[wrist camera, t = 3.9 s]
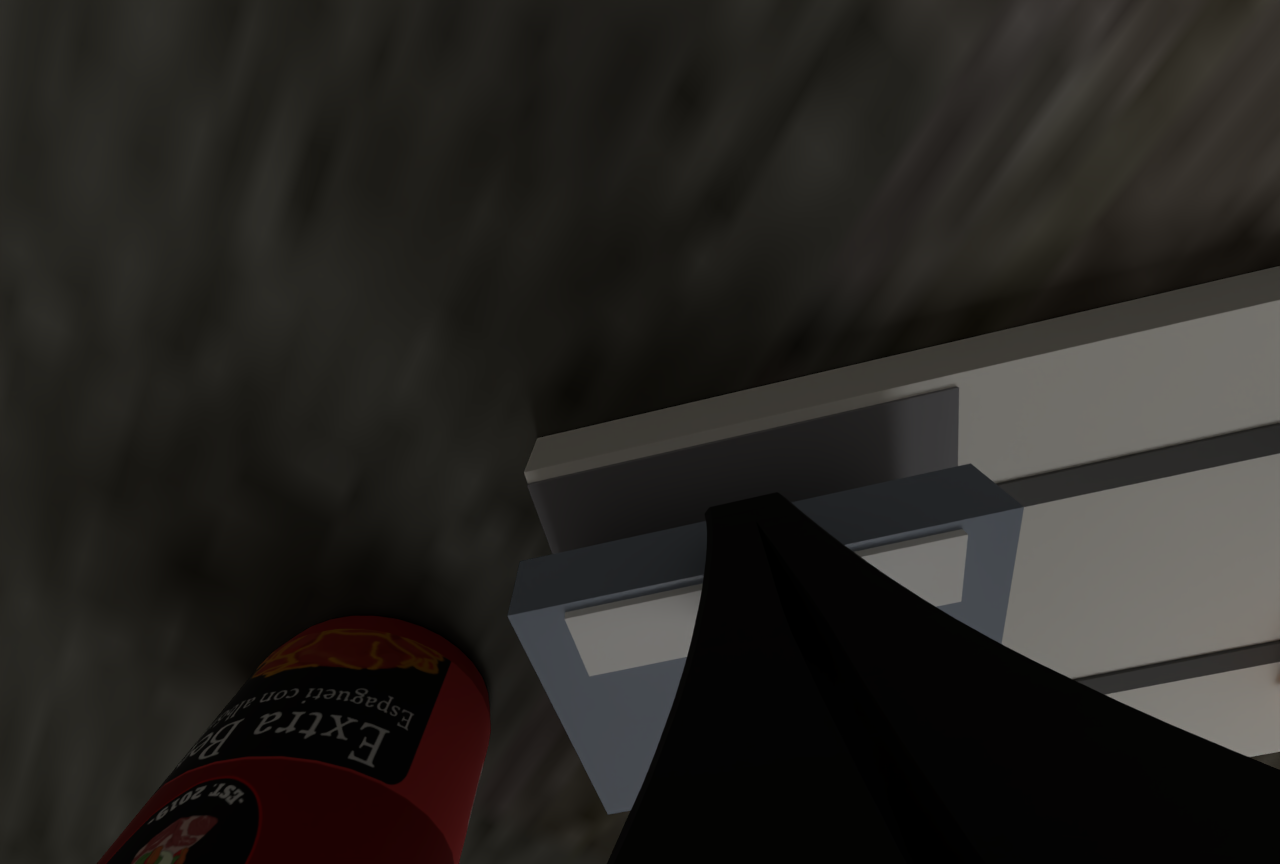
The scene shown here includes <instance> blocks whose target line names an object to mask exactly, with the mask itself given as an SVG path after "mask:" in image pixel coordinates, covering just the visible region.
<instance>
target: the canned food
mask: <svg viewBox="0 0 1280 864" xmlns="http://www.w3.org/2000/svg"><path fill="white" fill-rule="evenodd" d="M490 732H491V723H490V706H489V697H488V691H487V688H486V686H485V683H484V680H483V678H482V676H481V675H480V673H479V671H478V670H477V668H476V667H475V665H474V664H473V662H472V661H471V660H470V659H469V658H468V657H467V656H466V655H465V654H464V653H463V652H462V651H461V650H460V649H459V648H457V647H456V646H455V645H453V644H452V643H450V642H449V641H448V640H446V639H445V638H443V637H442V636H440V635H438V634H436V633H434V632H432V631H430V630H428V629H426V628H424V627H422V626H419V625H415V624H412V623H409V622H406V621H403V620H399V619H394V618H387V617H381V616H348V617H342V618H336V619H330V620H328V621H325V622H322V623H319V624H316V625H314V626H311V627H309V628H308V629H306V630H305V631H303V632H301V633H300V634H298V635H296V636H295V637H293V638H292V639H291V640H289V641H288V642H286V643H285V644H283V645H282V646H281V647H279V648H278V649H276V650H275V651H273V652H272V653H271V654H270V655H269V656H268V657H267V658H266V659H265V660H264V661H263V663H262V664H261V665H260V666H259V667H258V668H257V669H256V670H255V672H254V673H253V674H252V675H251V677H250V678H249V679H248V680H247V681H246V683H245V684H244V685H243V686H242V687H241V689H240V690H239V691H238V692H237V694H236V695H235V696H234V697H233V698H232V700H231V701H230V702H229V703H228V705H227V706H226V707H225V708H224V709H223V711H222V712H221V713H220V714H219V715H218V717H217V718H216V719H215V720H214V722H213V723H212V724H211V725H210V726H209V728H208V729H207V730H206V731H205V733H204V734H203V735H202V736H201V737H200V739H199V740H198V741H197V742H196V743H195V745H194V746H193V747H192V748H191V750H190V751H189V752H188V753H187V754H186V756H185V757H184V758H183V759H182V761H181V762H180V763H179V764H178V765H177V767H176V768H175V769H174V770H173V771H172V773H171V774H170V775H169V776H168V778H167V779H166V780H165V781H164V782H163V784H162V785H161V786H160V787H159V789H158V790H157V791H156V792H155V793H154V795H153V796H152V797H151V798H150V799H149V801H148V802H147V803H146V804H145V806H144V807H143V808H142V809H141V810H140V812H139V813H138V814H137V815H136V817H135V818H134V819H133V820H132V821H131V823H130V824H129V825H128V826H127V827H126V829H125V830H124V831H123V832H122V834H121V835H120V836H119V837H118V838H117V840H116V841H115V842H114V843H113V845H112V846H111V847H110V848H109V849H108V851H107V852H106V853H105V854H104V855H103V857H102V858H101V859H100V860H99V862H98V863H97V864H459V860H460V856H461V852H462V848H463V844H464V840H465V836H466V832H467V828H468V824H469V820H470V816H471V812H472V808H473V804H474V800H475V796H476V792H477V788H478V784H479V780H480V776H481V772H482V768H483V764H484V760H485V756H486V752H487V748H488V744H489V738H490Z"/></svg>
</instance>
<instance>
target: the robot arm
mask: <svg viewBox="0 0 1280 864" xmlns="http://www.w3.org/2000/svg"><path fill="white" fill-rule="evenodd" d="M704 515H705V519H706V526H707V549H706V562H705V570H704V577H703V584H702V592H701V597H700V603H699V607H698V612H697V616H696V621H695V626H694V630H693V635H692V639H691V643H690V647H689V651H688V655H687V658H686V662H685V666H684V669H683V673H682V676H681V679H680V682H679V686H678V689H677V692H676V695H675V698H674V701H673V704H672V707H671V710H670V713H669V716H668V718H667V721H666V724H665V727H664V729H663V732H662V735H661V738H660V741H659V743H658V746H657V749H656V752H655V754H654V757H653V759H652V762H651V764H650V767H649V769H648V772H647V774H646V777H645V779H644V782H643V784H642V786H641V789H640V791H639V793H638V795H637V798H636V800H635V802H634V804H633V807H632V809H631V811H630V813H629V816H628V818H627V820H626V822H625V825H624V827H623V829H622V831H621V834H620V836H619V838H618V840H617V842H616V845H615V847H614V849H613V851H612V854H611V856H610V858H609V860H608V863H607V864H1280V770H1279V769H1276V768H1274V767H1271V766H1269V765H1266V764H1264V763H1261V762H1259V761H1257V760H1254V759H1252V758H1250V757H1247V756H1245V755H1242V754H1240V753H1238V752H1235V751H1233V750H1230V749H1228V748H1226V747H1223V746H1221V745H1218V744H1216V743H1214V742H1211V741H1209V740H1207V739H1204V738H1202V737H1199V736H1197V735H1195V734H1192V733H1190V732H1187V731H1185V730H1183V729H1180V728H1178V727H1176V726H1173V725H1171V724H1169V723H1166V722H1164V721H1162V720H1160V719H1157V718H1155V717H1153V716H1151V715H1148V714H1146V713H1144V712H1142V711H1139V710H1137V709H1135V708H1133V707H1130V706H1128V705H1126V704H1124V703H1121V702H1119V701H1117V700H1115V699H1113V698H1111V697H1109V696H1107V695H1104V694H1102V693H1100V692H1098V691H1096V690H1094V689H1092V688H1090V687H1088V686H1086V685H1083V684H1081V683H1079V682H1077V681H1075V680H1073V679H1071V678H1069V677H1067V676H1065V675H1062V674H1060V673H1058V672H1056V671H1054V670H1052V669H1050V668H1048V667H1046V666H1044V665H1041V664H1039V663H1037V662H1035V661H1033V660H1031V659H1029V658H1028V657H1026V656H1024V655H1022V654H1020V653H1018V652H1016V651H1014V650H1012V649H1010V648H1008V647H1006V646H1004V645H1002V644H1000V643H998V642H997V641H995V640H993V639H991V638H989V637H988V636H986V635H984V634H982V633H980V632H979V631H977V630H975V629H973V628H971V627H970V626H968V625H966V624H964V623H962V622H961V621H959V620H957V619H955V618H954V617H952V616H950V615H949V614H947V613H945V612H944V611H942V610H940V609H939V608H937V607H935V606H934V605H932V604H931V603H929V602H927V601H926V600H924V599H922V598H921V597H919V596H918V595H916V594H915V593H913V592H912V591H910V590H908V589H907V588H905V587H904V586H902V585H901V584H899V583H898V582H896V581H895V580H893V579H892V578H890V577H889V576H887V575H886V574H884V573H883V572H881V571H880V570H878V569H877V568H875V567H874V566H873V565H871V564H870V563H868V562H867V561H866V560H864V559H863V558H862V557H860V556H859V555H857V554H856V553H855V552H853V551H852V550H851V549H849V548H848V547H846V546H845V545H844V544H842V543H841V542H840V541H838V540H837V539H836V538H834V537H833V536H832V535H830V534H829V533H828V532H827V531H825V530H824V529H823V528H822V527H820V526H819V525H818V524H817V523H815V522H814V521H813V520H812V519H810V518H809V517H808V516H807V515H805V514H804V513H803V512H802V511H801V510H799V509H798V508H797V507H796V506H795V505H794V504H792V503H791V502H790V501H789V500H788V499H787V498H785V497H784V496H783V495H781V494H780V493H778V492H776V493H771V494H767V495H762V496H758V497H753V498H749V499H744V500H740V501H735V502H731V503H726V504H721V505H717V506H712V507H709V508H708V510H707V511H706V512H705V514H704Z"/></svg>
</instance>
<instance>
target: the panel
mask: <svg viewBox="0 0 1280 864" xmlns="http://www.w3.org/2000/svg"><path fill="white" fill-rule="evenodd" d="M970 463H971V464H972V465H973V466H975V467H976V468H977V469H978V470H979V471H981V472H982V473H983V474H984V475H986V476H987V477H988V478H989V479H990V480H992V481H993V482H994V483H995V484H997V485H998V486H999V487H1000V488H1001V489H1003V490H1004V491H1005V492H1006V493H1008V494H1009V495H1010V496H1011V497H1012V498H1014V499H1015V500H1016V501H1017V502H1019V503H1020V504H1021V505H1022V506H1023V507H1024V510H1023V516H1022V523H1021V529H1020V535H1019V541H1018V547H1017V553H1016V559H1015V565H1014V571H1013V577H1012V583H1011V589H1010V596H1009V602H1008V608H1007V614H1006V620H1005V626H1004V632H1003V638H1002V645H1004V646H1006V647H1008V648H1010V649H1012V650H1014V651H1016V652H1018V653H1020V654H1022V655H1024V656H1026V657H1028V658H1029V659H1031V660H1033V661H1035V662H1037V663H1039V664H1041V665H1044V666H1046V667H1048V668H1050V669H1052V670H1054V671H1056V672H1058V673H1060V674H1062V675H1065V676H1067V677H1069V678H1071V679H1073V680H1075V681H1077V682H1079V683H1081V684H1083V685H1086V686H1088V687H1090V688H1092V689H1094V690H1096V691H1098V692H1100V693H1102V694H1104V695H1107V696H1109V697H1111V698H1113V699H1115V700H1117V701H1119V702H1121V703H1124V704H1126V705H1128V706H1130V707H1133V708H1135V709H1137V710H1139V711H1142V712H1144V713H1146V714H1148V715H1151V716H1153V717H1155V718H1157V719H1160V720H1162V721H1164V722H1166V723H1169V724H1171V725H1173V726H1176V727H1178V728H1180V729H1183V730H1185V731H1187V732H1190V733H1192V734H1195V735H1197V736H1199V737H1202V738H1204V739H1207V740H1209V741H1211V742H1214V743H1216V744H1218V745H1221V746H1223V747H1226V748H1228V749H1230V750H1233V751H1235V752H1238V753H1240V754H1242V755H1245V756H1247V757H1252V756H1257V755H1263V754H1269V753H1274V752H1280V266H1277V267H1273V268H1268V269H1264V270H1260V271H1255V272H1251V273H1247V274H1242V275H1238V276H1234V277H1230V278H1225V279H1221V280H1217V281H1212V282H1208V283H1204V284H1199V285H1195V286H1191V287H1186V288H1182V289H1178V290H1174V291H1169V292H1165V293H1161V294H1156V295H1152V296H1148V297H1143V298H1139V299H1135V300H1130V301H1126V302H1122V303H1118V304H1113V305H1109V306H1105V307H1100V308H1096V309H1092V310H1087V311H1083V312H1079V313H1074V314H1070V315H1066V316H1062V317H1057V318H1053V319H1049V320H1044V321H1040V322H1036V323H1031V324H1027V325H1023V326H1018V327H1014V328H1010V329H1005V330H1001V331H997V332H993V333H988V334H984V335H980V336H975V337H971V338H967V339H962V340H958V341H954V342H949V343H945V344H941V345H937V346H932V347H928V348H924V349H919V350H915V351H911V352H906V353H902V354H898V355H893V356H889V357H885V358H881V359H876V360H872V361H868V362H863V363H859V364H855V365H850V366H846V367H842V368H837V369H833V370H829V371H825V372H820V373H816V374H812V375H807V376H803V377H799V378H794V379H790V380H786V381H781V382H777V383H773V384H769V385H764V386H760V387H756V388H751V389H747V390H743V391H738V392H734V393H730V394H725V395H721V396H717V397H712V398H708V399H704V400H700V401H695V402H691V403H687V404H682V405H678V406H674V407H669V408H665V409H661V410H656V411H652V412H648V413H644V414H639V415H635V416H631V417H626V418H622V419H618V420H613V421H609V422H605V423H600V424H596V425H592V426H588V427H583V428H579V429H575V430H570V431H566V432H562V433H557V434H553V435H549V436H544V437H540V438H537V440H536V442H535V445H534V448H533V450H532V453H531V455H530V458H529V460H528V463H527V466H526V468H525V471H524V474H525V477H526V480H527V482H528V484H527V486H528V489H529V492H530V495H531V497H532V500H533V503H534V505H535V508H536V511H537V513H538V516H539V519H540V522H541V524H542V527H543V530H544V532H545V535H546V538H547V541H548V543H549V546H550V549H551V551H552V554H556V553H561V552H565V551H570V550H574V549H579V548H584V547H588V546H593V545H597V544H602V543H607V542H611V541H616V540H620V539H625V538H630V537H634V536H639V535H643V534H648V533H653V532H657V531H662V530H666V529H671V528H676V527H680V526H685V525H689V524H694V523H699V522H703V521H706V519H705V515H704V514H705V512H706V511H707V510H708V508H709V507H712V506H717V505H721V504H726V503H731V502H735V501H740V500H744V499H749V498H753V497H758V496H762V495H767V494H771V493H776V492H778V493H780V494H781V495H783V496H784V497H785V498H787V499H788V500H789V501H790V502H795V501H800V500H804V499H809V498H814V497H818V496H823V495H827V494H832V493H837V492H841V491H846V490H850V489H855V488H860V487H864V486H869V485H873V484H878V483H883V482H887V481H892V480H896V479H901V478H906V477H910V476H915V475H919V474H924V473H929V472H933V471H938V470H942V469H947V468H952V467H956V466H961V465H965V464H970Z"/></svg>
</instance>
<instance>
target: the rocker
mask: <svg viewBox="0 0 1280 864" xmlns="http://www.w3.org/2000/svg"><path fill="white" fill-rule="evenodd" d="M791 503H792V504H794V505H795V506H796V507H797V508H798V509H799V510H801V511H802V512H803V513H804V514H805V515H807V516H808V517H809V518H810V519H812V520H813V521H814V522H815V523H817V524H818V525H819V526H820V527H822V528H823V529H824V530H825V531H827V532H828V533H829V534H830V535H832V536H833V537H834V538H836V539H837V540H838V541H840V542H841V543H842V544H844V545H845V546H846V547H848V548H849V549H851V550H852V551H853V552H855V553H856V554H857V555H859V556H860V557H862V558H863V559H864V560H866V561H867V562H868V563H870V564H871V565H873V566H874V567H875V568H877V569H878V570H880V571H881V572H883V573H884V574H886V575H887V576H889V577H890V578H892V579H893V580H895V581H896V582H898V583H899V584H901V585H902V586H904V587H905V588H907V589H908V590H910V591H912V592H913V593H915V594H916V595H918V596H919V597H921V598H922V599H924V600H926V601H927V602H929V603H931V604H932V605H934V606H935V607H937V608H939V609H940V610H942V611H944V612H945V613H947V614H949V615H950V616H952V617H954V618H955V619H957V620H959V621H961V622H962V623H964V624H966V625H968V626H970V627H971V628H973V629H975V630H977V631H979V632H980V633H982V634H984V635H986V636H988V637H989V638H991V639H993V640H995V641H997V642H998V643H1000V644H1002V638H1003V632H1004V626H1005V620H1006V614H1007V608H1008V602H1009V596H1010V589H1011V583H1012V577H1013V571H1014V565H1015V559H1016V553H1017V547H1018V541H1019V535H1020V529H1021V523H1022V516H1023V510H1024V507H1023V506H1022V505H1021V504H1020V503H1019V502H1017V501H1016V500H1015V499H1014V498H1012V497H1011V496H1010V495H1009V494H1008V493H1006V492H1005V491H1004V490H1003V489H1001V488H1000V487H999V486H998V485H997V484H995V483H994V482H993V481H992V480H990V479H989V478H988V477H987V476H986V475H984V474H983V473H982V472H981V471H979V470H978V469H977V468H976V467H975V466H973V465H972V464H971V463H970V464H965V465H961V466H956V467H952V468H947V469H942V470H938V471H933V472H929V473H924V474H919V475H915V476H910V477H906V478H901V479H896V480H892V481H887V482H883V483H878V484H873V485H869V486H864V487H860V488H855V489H850V490H846V491H841V492H837V493H832V494H827V495H823V496H818V497H814V498H809V499H804V500H800V501H795V502H791ZM706 549H707V526H706V521H703V522H699V523H694V524H689V525H685V526H680V527H676V528H671V529H666V530H662V531H657V532H653V533H648V534H643V535H639V536H634V537H630V538H625V539H620V540H616V541H611V542H607V543H602V544H597V545H593V546H588V547H584V548H579V549H574V550H570V551H565V552H561V553H556V554H551V555H547V556H542V557H538V558H533V559H528V560H524V561H520V564H519V568H518V572H517V577H516V581H515V585H514V590H513V594H512V599H511V603H510V607H509V612H508V618H509V620H510V622H511V624H512V626H513V628H514V630H515V632H516V634H517V636H518V638H519V640H520V642H521V644H522V646H523V648H524V649H525V651H526V653H527V655H528V657H529V659H530V661H531V663H532V665H533V667H534V669H535V671H536V673H537V675H538V677H539V679H540V681H541V683H542V685H543V687H544V689H545V691H546V693H547V695H548V697H549V699H550V701H551V703H552V705H553V707H554V709H555V711H556V713H557V715H558V717H559V719H560V721H561V723H562V725H563V727H564V728H565V730H566V732H567V734H568V736H569V738H570V740H571V742H572V744H573V746H574V748H575V750H576V752H577V754H578V756H579V758H580V760H581V762H582V764H583V766H584V768H585V770H586V772H587V774H588V776H589V778H590V780H591V782H592V784H593V786H594V788H595V790H596V792H597V794H598V796H599V798H600V800H601V802H602V804H603V806H604V807H605V809H606V811H607V813H608V814H614V813H619V812H624V811H630V810H631V809H632V807H633V804H634V802H635V800H636V798H637V795H638V793H639V791H640V789H641V786H642V784H643V782H644V779H645V777H646V774H647V772H648V769H649V767H650V764H651V762H652V759H653V757H654V754H655V752H656V749H657V746H658V743H659V741H660V738H661V735H662V732H663V729H664V727H665V724H666V721H667V718H668V716H669V713H670V710H671V707H672V704H673V701H674V698H675V695H676V692H677V689H678V686H679V682H680V679H681V676H682V673H683V669H684V666H685V662H686V658H687V655H688V651H689V647H690V643H691V639H692V635H693V630H694V626H695V621H696V616H697V612H698V607H699V603H700V597H701V592H702V584H703V577H704V570H705V562H706Z"/></svg>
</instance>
